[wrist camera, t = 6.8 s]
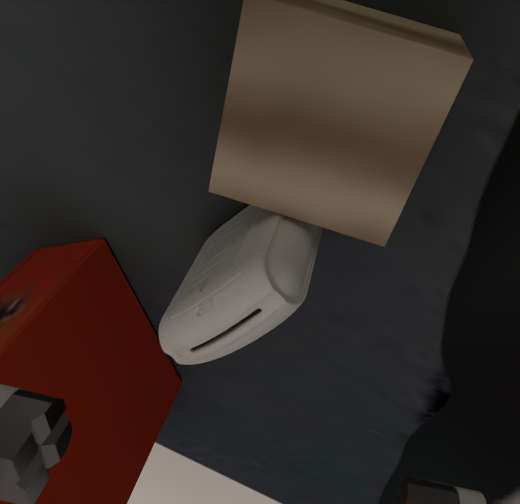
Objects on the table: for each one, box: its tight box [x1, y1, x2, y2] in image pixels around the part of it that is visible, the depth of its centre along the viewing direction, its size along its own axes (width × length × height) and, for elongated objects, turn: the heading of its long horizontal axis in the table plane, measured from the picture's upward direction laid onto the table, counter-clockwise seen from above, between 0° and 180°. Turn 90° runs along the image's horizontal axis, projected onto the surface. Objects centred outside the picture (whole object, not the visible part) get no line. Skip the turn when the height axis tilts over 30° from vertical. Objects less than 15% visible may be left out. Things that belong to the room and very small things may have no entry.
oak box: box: [208, 0, 473, 247], centre depth 28 cm, size 11×11×6 cm
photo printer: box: [159, 205, 322, 365], centre depth 32 cm, size 10×4×12 cm, turn 133°
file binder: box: [0, 239, 182, 504], centre depth 34 cm, size 8×17×32 cm, turn 18°
